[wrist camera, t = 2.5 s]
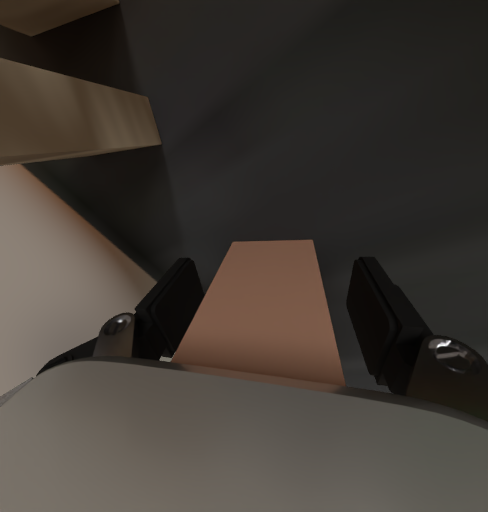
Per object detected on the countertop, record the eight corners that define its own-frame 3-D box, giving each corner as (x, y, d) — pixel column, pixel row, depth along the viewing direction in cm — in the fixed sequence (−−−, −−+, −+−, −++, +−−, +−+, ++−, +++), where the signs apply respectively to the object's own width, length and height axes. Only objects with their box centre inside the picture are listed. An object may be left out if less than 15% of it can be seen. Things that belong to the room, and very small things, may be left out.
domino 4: (69, 115, 10) (-470, 68, 3) (147, 97, 9) (-413, -52, 2) (88, 156, 12) (-278, 195, 4) (162, 144, 10) (-165, 169, 3)
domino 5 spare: (232, 241, 13) (153, 394, 5) (312, 239, 12) (356, 431, 4) (237, 266, 14) (176, 423, 6) (310, 266, 13) (343, 460, 5)
